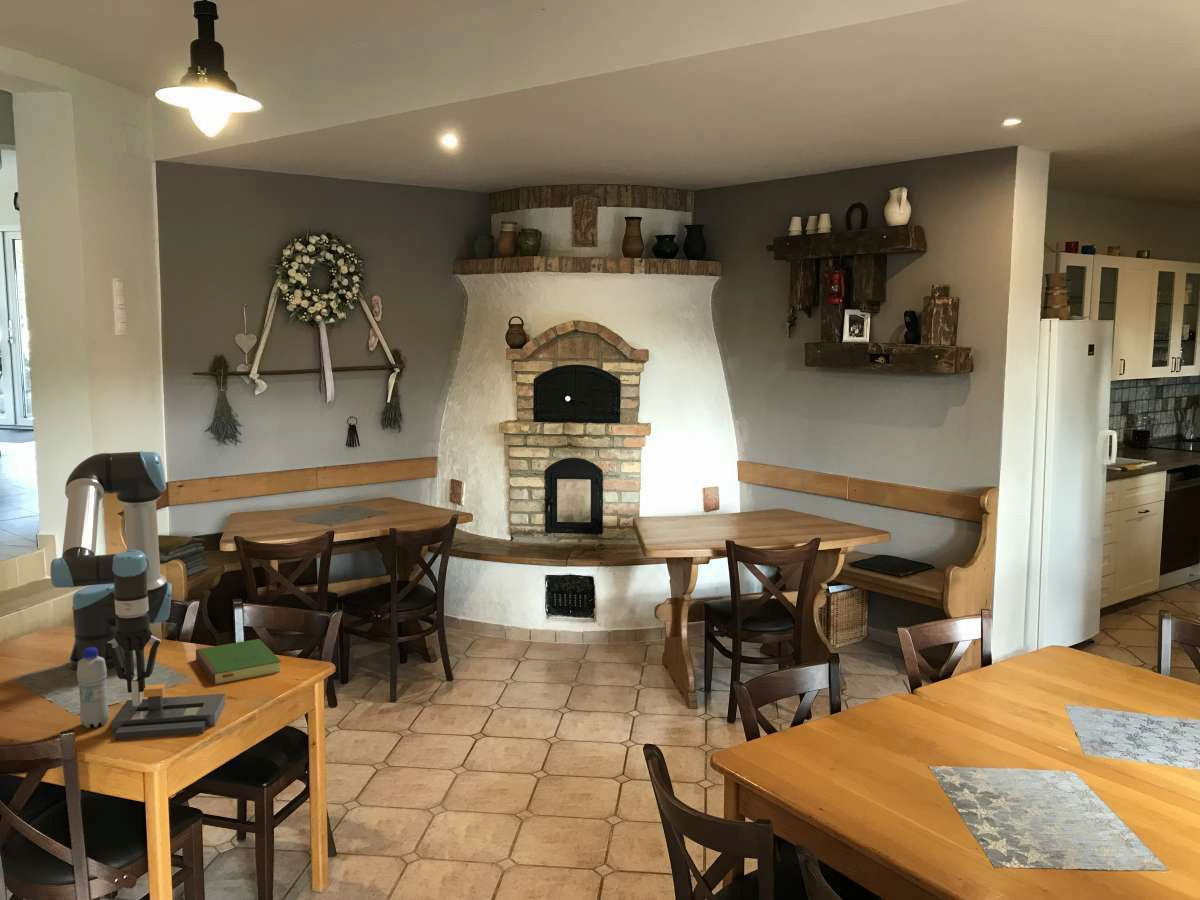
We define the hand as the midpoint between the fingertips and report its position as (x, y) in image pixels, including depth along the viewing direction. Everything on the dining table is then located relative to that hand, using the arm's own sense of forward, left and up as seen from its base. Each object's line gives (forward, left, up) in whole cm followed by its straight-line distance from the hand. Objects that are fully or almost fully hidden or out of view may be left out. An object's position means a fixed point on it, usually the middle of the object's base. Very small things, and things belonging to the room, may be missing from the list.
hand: (137, 703), depth 239 cm
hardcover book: (-37, +18, -5) cm, 42 cm away
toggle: (0, +4, -3) cm, 5 cm away
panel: (0, +8, -5) cm, 9 cm away
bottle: (0, -10, -5) cm, 11 cm away
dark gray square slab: (0, +8, -5) cm, 9 cm away
